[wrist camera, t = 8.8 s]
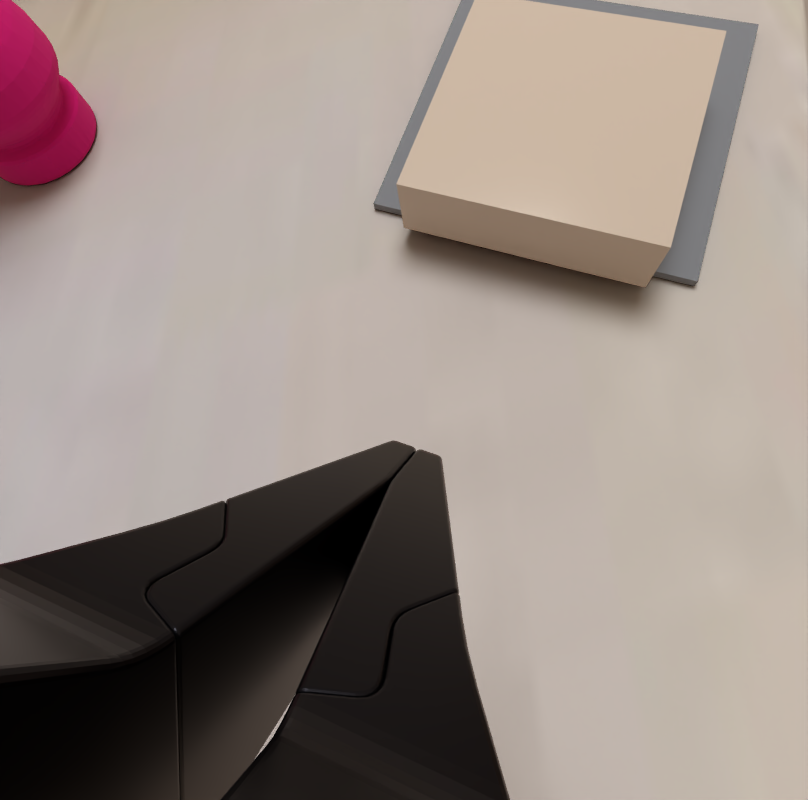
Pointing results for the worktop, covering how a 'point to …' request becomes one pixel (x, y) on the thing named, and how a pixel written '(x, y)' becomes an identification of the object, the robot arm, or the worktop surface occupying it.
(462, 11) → the slate mat
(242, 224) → the worktop surface
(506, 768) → the worktop surface
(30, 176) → the pepper mill
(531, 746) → the worktop surface
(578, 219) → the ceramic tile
